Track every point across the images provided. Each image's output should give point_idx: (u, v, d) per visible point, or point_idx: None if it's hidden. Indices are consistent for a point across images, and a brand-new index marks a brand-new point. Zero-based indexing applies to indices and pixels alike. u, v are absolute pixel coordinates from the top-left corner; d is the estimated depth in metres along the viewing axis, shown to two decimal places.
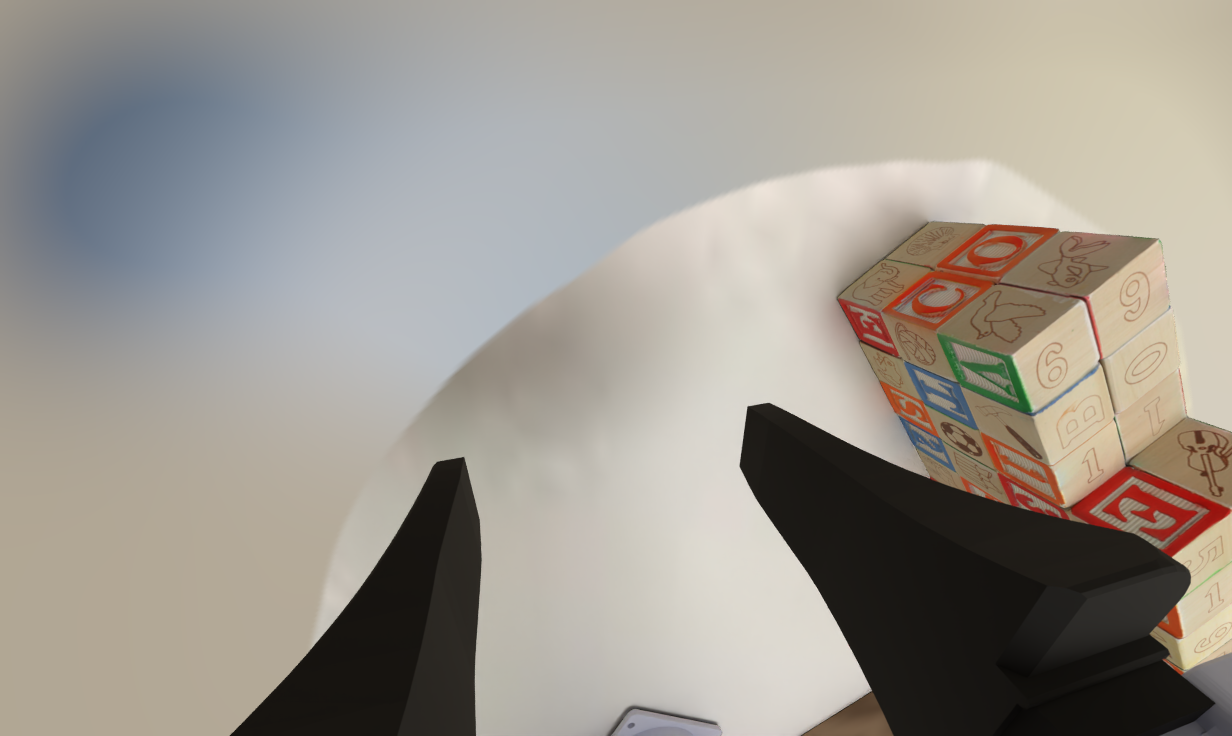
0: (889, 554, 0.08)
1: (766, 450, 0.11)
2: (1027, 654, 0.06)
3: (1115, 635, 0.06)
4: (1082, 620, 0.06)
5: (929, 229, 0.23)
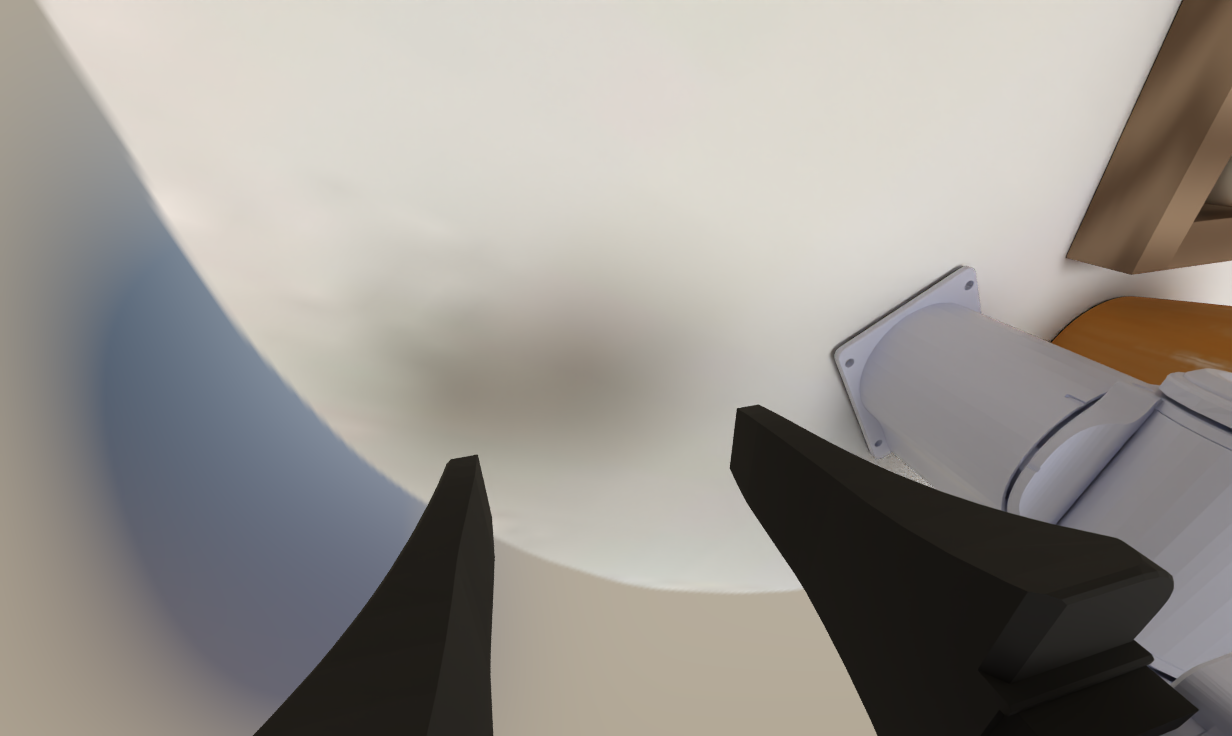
0: (874, 558, 0.08)
1: (755, 452, 0.11)
2: (1008, 660, 0.06)
3: (1098, 641, 0.06)
4: (1063, 626, 0.06)
5: None
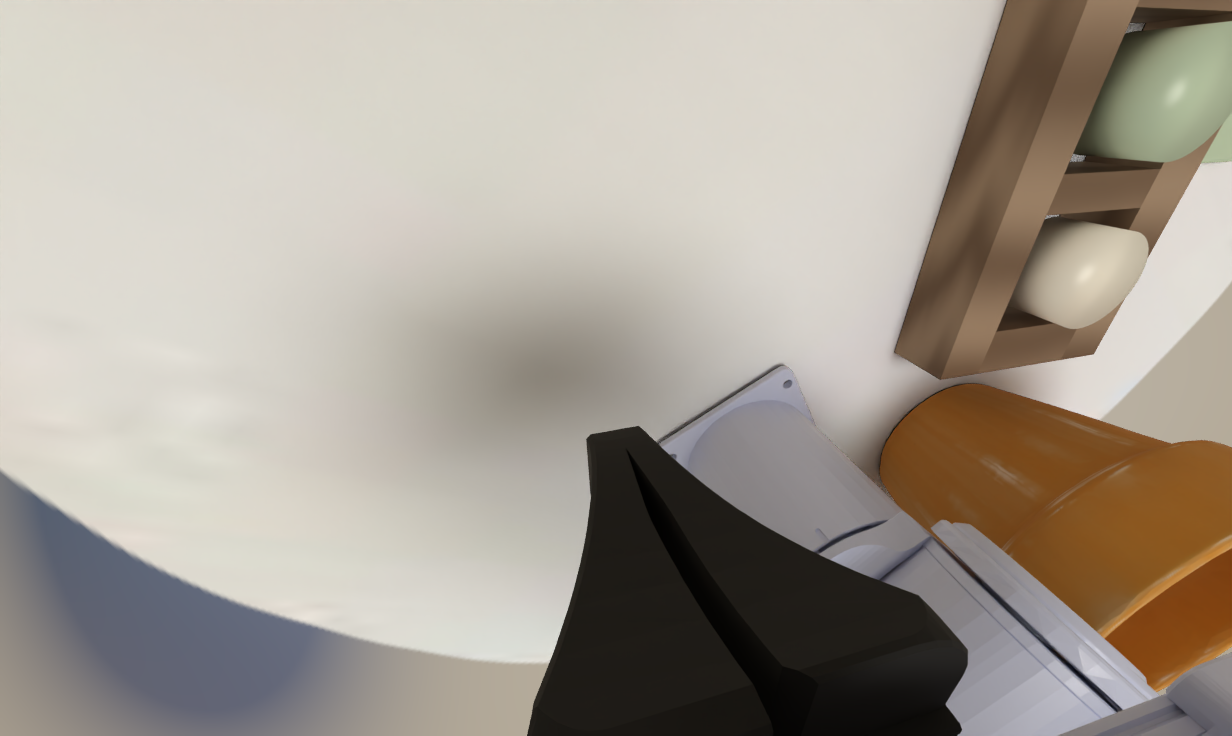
0: (699, 605, 0.07)
1: None
2: None
3: (894, 711, 0.06)
4: (830, 703, 0.05)
5: None
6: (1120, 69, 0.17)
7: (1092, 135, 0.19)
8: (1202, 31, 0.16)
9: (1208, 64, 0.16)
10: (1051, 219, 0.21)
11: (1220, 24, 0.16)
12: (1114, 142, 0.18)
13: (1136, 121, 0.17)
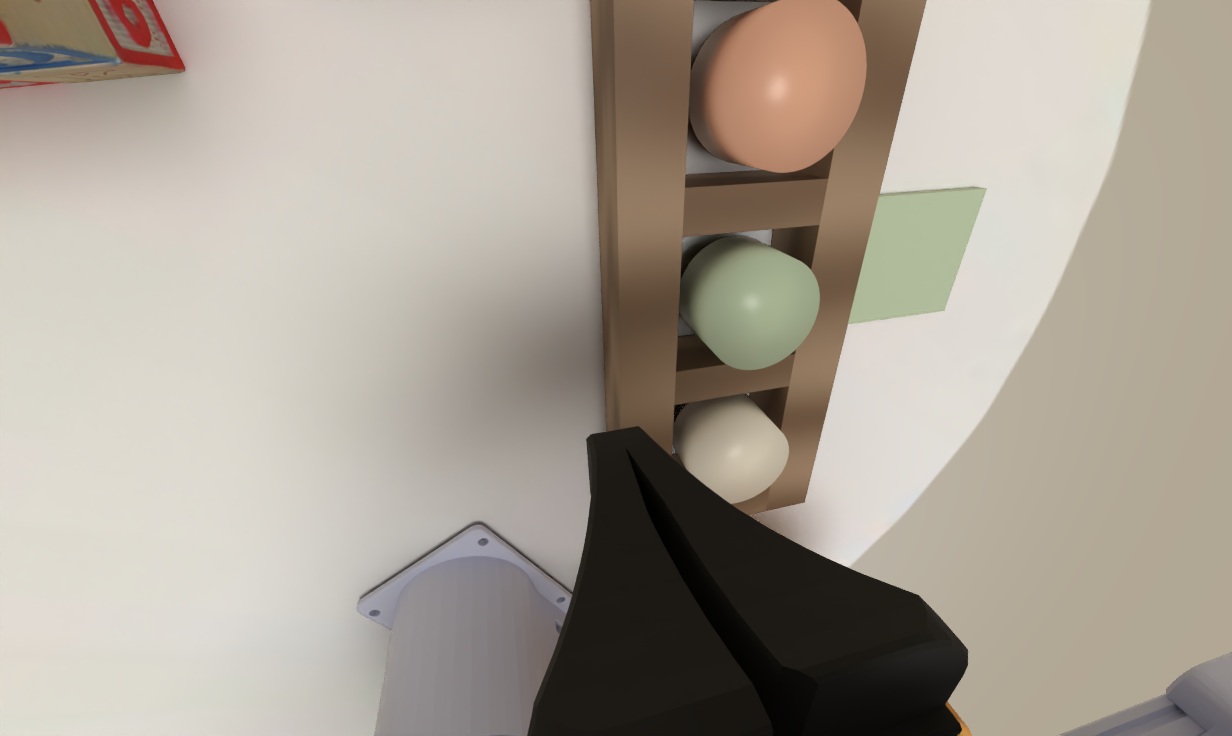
0: (699, 605, 0.07)
1: None
2: (785, 735, 0.05)
3: (894, 711, 0.06)
4: (830, 703, 0.05)
5: None
6: (696, 284, 0.17)
7: (697, 335, 0.19)
8: (739, 265, 0.16)
9: (757, 292, 0.16)
10: None
11: (753, 260, 0.16)
12: None
13: (706, 339, 0.17)
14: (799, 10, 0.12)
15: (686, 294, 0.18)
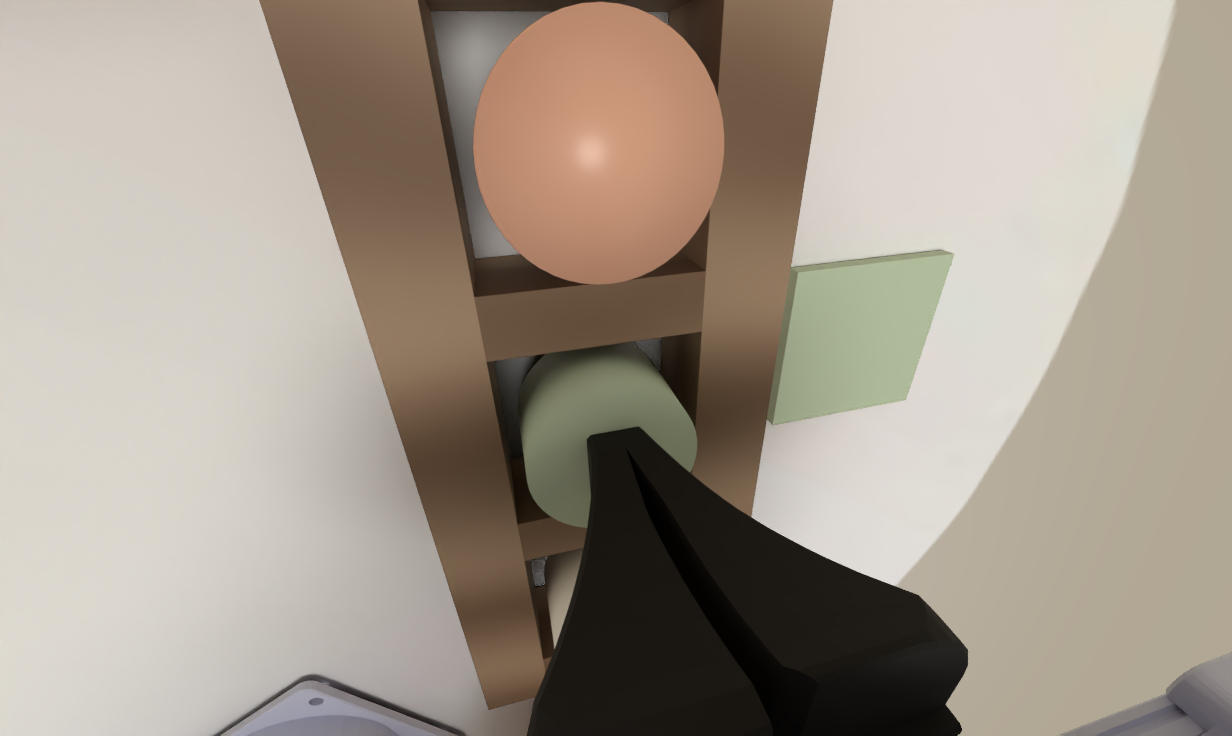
0: (699, 605, 0.07)
1: None
2: (785, 735, 0.05)
3: (893, 711, 0.06)
4: (830, 703, 0.05)
5: None
6: (524, 413, 0.12)
7: None
8: (563, 402, 0.11)
9: None
10: None
11: (582, 396, 0.11)
12: None
13: None
14: (581, 32, 0.07)
15: (520, 421, 0.13)
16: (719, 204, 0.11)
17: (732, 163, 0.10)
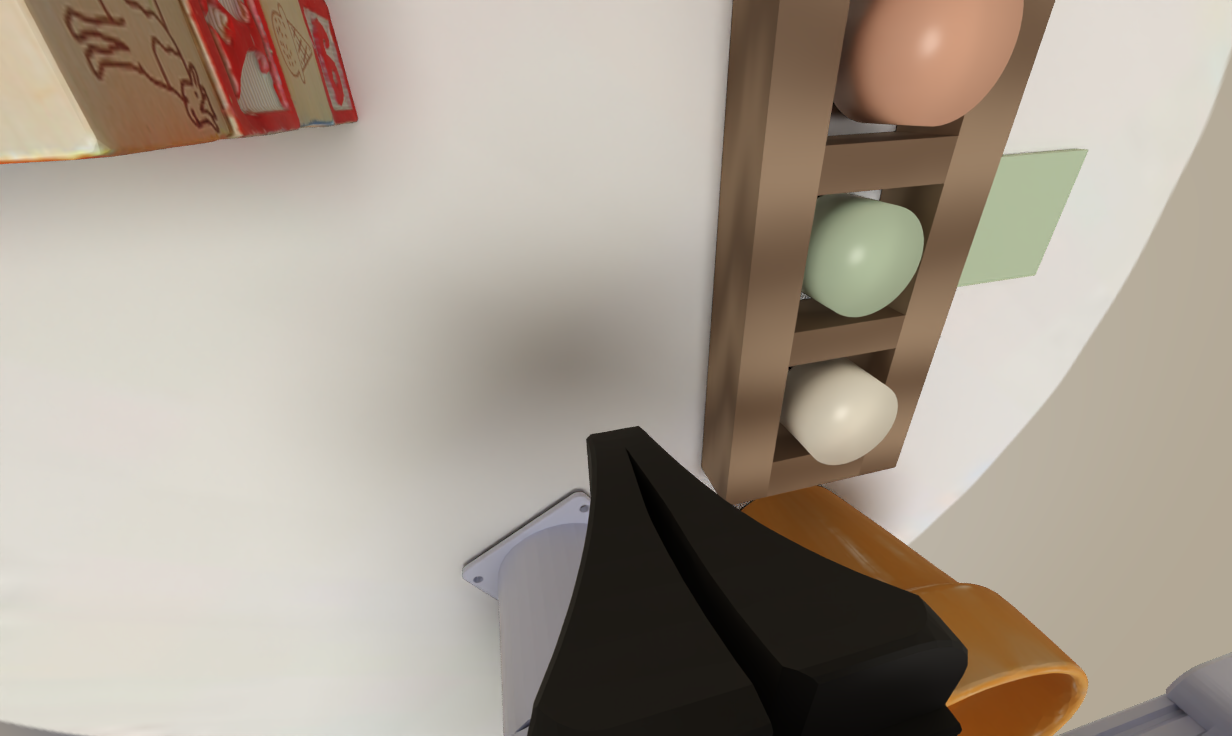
0: (699, 604, 0.07)
1: None
2: (785, 735, 0.05)
3: (893, 711, 0.06)
4: (830, 702, 0.05)
5: None
6: None
7: None
8: (854, 215, 0.17)
9: (869, 240, 0.18)
10: None
11: (868, 210, 0.17)
12: (814, 297, 0.19)
13: (817, 287, 0.18)
14: None
15: None
16: None
17: None
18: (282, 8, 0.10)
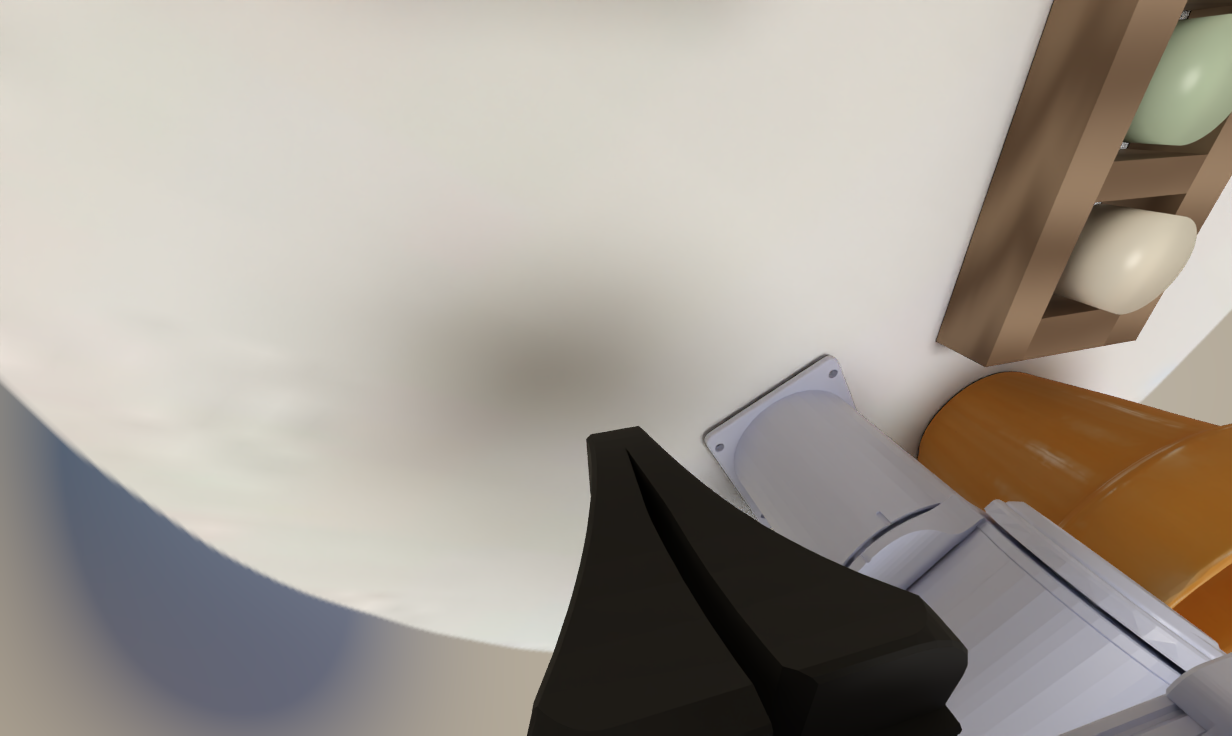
0: (699, 605, 0.07)
1: None
2: None
3: (894, 711, 0.06)
4: (830, 703, 0.05)
5: None
6: None
7: None
8: (1214, 22, 0.17)
9: (1220, 52, 0.17)
10: (1097, 207, 0.22)
11: (1231, 15, 0.17)
12: (1132, 127, 0.19)
13: (1152, 107, 0.18)
14: None
15: None
16: None
17: None
18: None
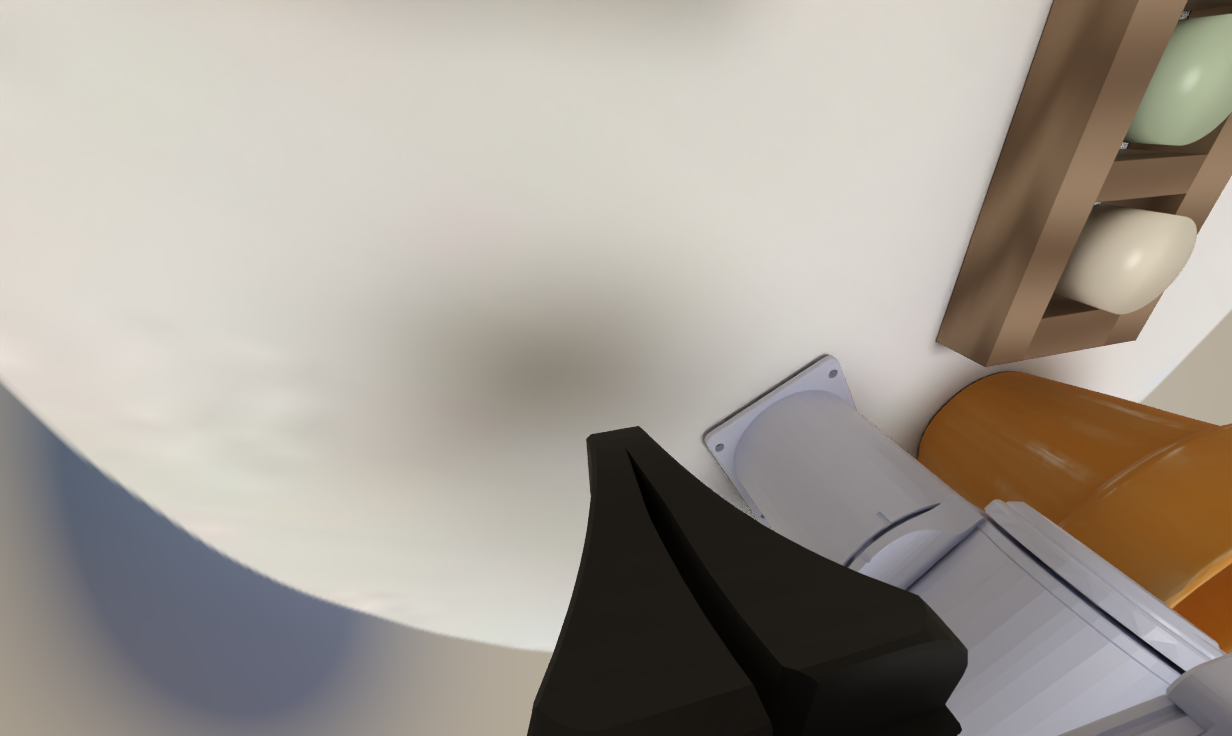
0: (699, 605, 0.07)
1: None
2: None
3: (894, 711, 0.06)
4: (830, 703, 0.05)
5: None
6: None
7: None
8: (1214, 22, 0.17)
9: (1220, 52, 0.17)
10: (1097, 207, 0.22)
11: (1231, 15, 0.17)
12: (1132, 127, 0.19)
13: (1152, 107, 0.18)
14: None
15: None
16: None
17: None
18: None
